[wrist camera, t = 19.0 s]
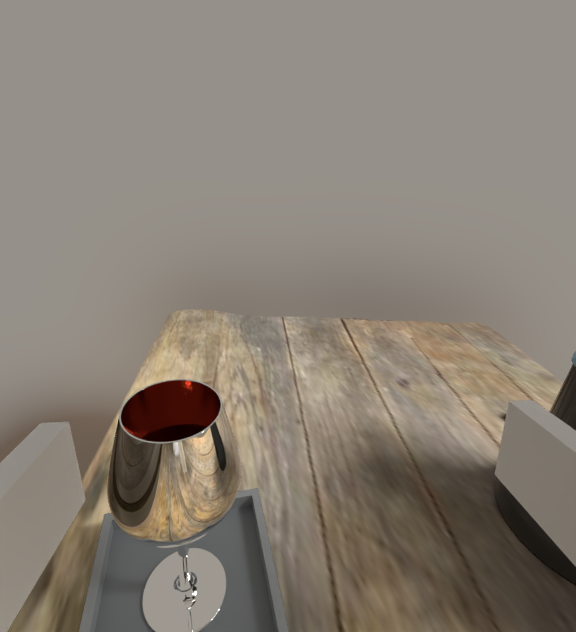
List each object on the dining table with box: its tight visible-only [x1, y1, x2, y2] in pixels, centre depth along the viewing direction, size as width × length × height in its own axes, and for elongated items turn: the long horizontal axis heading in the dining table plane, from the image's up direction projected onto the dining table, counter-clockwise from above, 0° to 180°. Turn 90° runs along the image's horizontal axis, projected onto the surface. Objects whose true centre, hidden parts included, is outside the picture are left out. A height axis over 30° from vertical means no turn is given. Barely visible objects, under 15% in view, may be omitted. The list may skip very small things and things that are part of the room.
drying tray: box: [79, 488, 289, 632], centre depth 28 cm, size 14×14×2 cm
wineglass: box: [107, 379, 241, 632], centre depth 25 cm, size 8×8×18 cm
